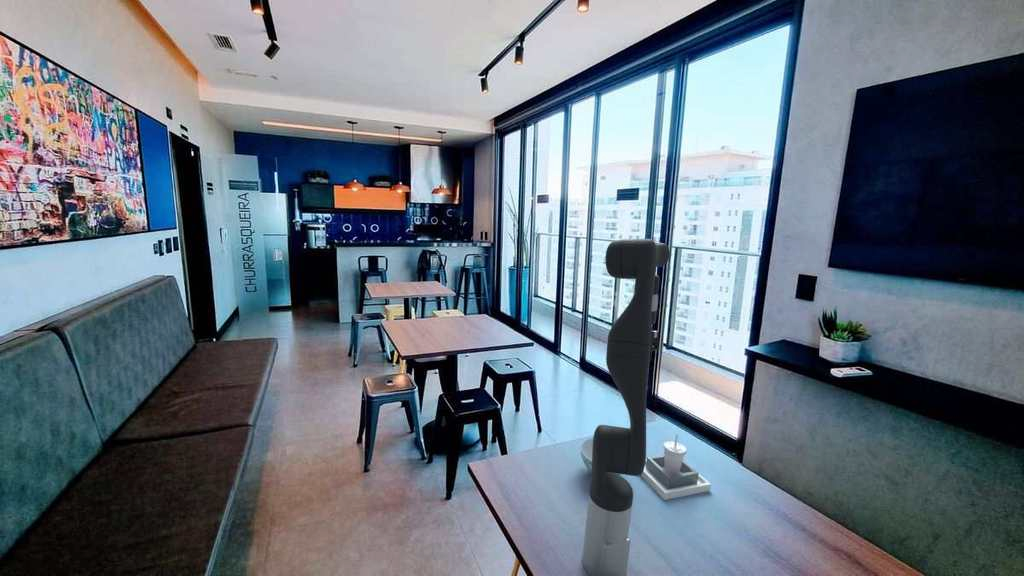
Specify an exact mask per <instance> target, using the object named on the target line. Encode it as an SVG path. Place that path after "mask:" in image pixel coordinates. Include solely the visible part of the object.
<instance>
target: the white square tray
mask: <svg viewBox="0 0 1024 576" xmlns="http://www.w3.org/2000/svg"><path fill="white" fill-rule="evenodd" d="M640 477H642V479H644V480H645V482H646V483H647V484H648V486H649V485H650V487H651V488H652V489H653V490H654V491H655V492H656V494H658V495H659V496H660V497H661V498H662V499H663V500H664V501H667V500H671V499H676V498H682V497H686V496H691V495H696V494H701V493H706V492H707V493H708V492H710V491H711V487H712V483H710V481H708V480H707V479H706V478H705V477H703V476H702V475H701V474H700V473H699V472H698V471H697V470H696V469H695V468H694V467H692V466H691V465H690V464H689V463H688V462H686V461H685V460H684V459H683V461H682V465H681V468H680V471H679V474H676V475H671V476H670V475H669V474H668V473H667V472H665V465H664V454H658V455H652V456H646V462H645V467H644V471H643V473H642V474H641V475H640Z"/></svg>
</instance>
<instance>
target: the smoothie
mask: <svg viewBox="0 0 1024 576" xmlns="http://www.w3.org/2000/svg"><path fill="white" fill-rule="evenodd" d="M678 436H679V434H678V433H676V434H675V440H673V441H672V440H668V441H665V442H663V453H664V465H665V472H667V473H668V474H669V475H670V476H671V475H676V474H679V471H680V468H681V465H682V461H683V460H684V459H685V458H684V457H685V455H687V448H686V446H685V445H683V444H682V443H680V442H678Z"/></svg>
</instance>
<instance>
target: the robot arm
mask: <svg viewBox="0 0 1024 576" xmlns="http://www.w3.org/2000/svg"><path fill="white" fill-rule="evenodd" d="M670 256H671V253H670V248H669V246H668V245H667V244H666V243H663V242H656V241H654V240H653V239H652V238H632V239H630V238H627V239H625V238H623V239H617V240H613V241H612V242H610V243H609V244H608V246H607V248H606V250H605V259H604V260H605V268H606V272H607V273H608V274H609V276H610V277H612V278H615V279H619V280H623V279H624V280H635V281H634V287H633V288H634V290H633V295H632V298H631V300H630V302H629V303H628V305H627V306H626V308H625V309H624V310H623V311H622V312H621V314H620V315H619V317H618V318H617V319H616V320H615V322H614V323H613V325H612V326H611V327H610V330H609V332H608V335H607V343H606V354H605V356H606V359H605V362H606V367H607V370H608V372H609V375H610V376H611V378H612V380H613V382H614V384H615V386H616V388H617V389H618V391H619V393H620V395H621V397H622V399H623V401H624V404H625V406H626V407H625V408H626V409H627V412H628V415H629V416H628V418H629V423H630V425H629V426H630V427H629V428H627V427H622V426H621V427H620V426H615V425H607V424H599V425H598V426H597V427H596V428H595V430H594V432H593V437H592V438H593V448H592V471H590V472H591V474H590V480H589V490H588V500H587V509H586V510H587V511H586V519H585V521H586V522H585V527H584V528H585V530H584V540H583V549H582V565H583V568H584V570H585V571H586V573H587V574H588V575H590V576H627V572H628V566H629V565H628V563H629V558H630V556H629V555H630V548H631V539H629V531H630V525H631V516H632V510H633V509H632V508H633V502H634V501H633V500H634V490H633V487H632V485H631V483H629V481H628V480H626V479H625V478H624V477H622V476H621V475H625V476H631V477H641V474H642V473H643V471H644V467H645V462H646V459H647V396H648V394H647V393H648V384H649V383H648V382H649V372H650V363H651V361H652V356H653V351H658V350H659V343H660V342H659V340H660V331H659V330H653V325H655V323H656V321H657V313H658V312H657V311H658V306H659V305H658V304H659V287H660V281H661V279H660V276H659V275H658V274H657V268H661V267H662V268H663V267H664V266H666V264H667V263H668V262H669V260H670ZM616 473H619V474H621V475H617V474H616Z"/></svg>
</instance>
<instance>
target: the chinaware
mask: <svg viewBox="0 0 1024 576" xmlns="http://www.w3.org/2000/svg"><path fill="white" fill-rule="evenodd" d="M579 448H580V455H581V458H582V461H583V464H584V466H585V467H586V468H587V469H588V471H589V472H591V471H592V448H593V437H590V438H587V439H585V440H584V441H583V442H582V443H581V444H580V447H579ZM616 474H617V475H619V476H621V475H622V474H619V473H616Z"/></svg>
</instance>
